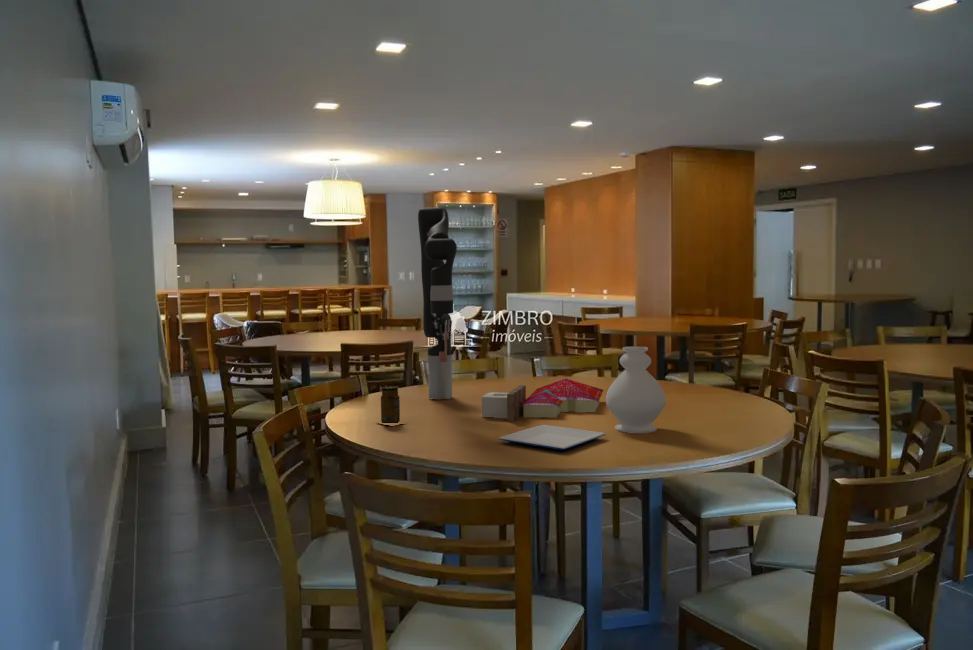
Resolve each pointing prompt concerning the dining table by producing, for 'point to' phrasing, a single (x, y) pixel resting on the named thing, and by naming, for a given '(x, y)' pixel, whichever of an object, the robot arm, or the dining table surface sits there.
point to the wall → (515, 403)
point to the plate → (552, 437)
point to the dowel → (443, 354)
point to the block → (494, 405)
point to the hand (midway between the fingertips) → (443, 350)
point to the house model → (562, 399)
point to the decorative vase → (635, 394)
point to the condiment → (390, 405)
